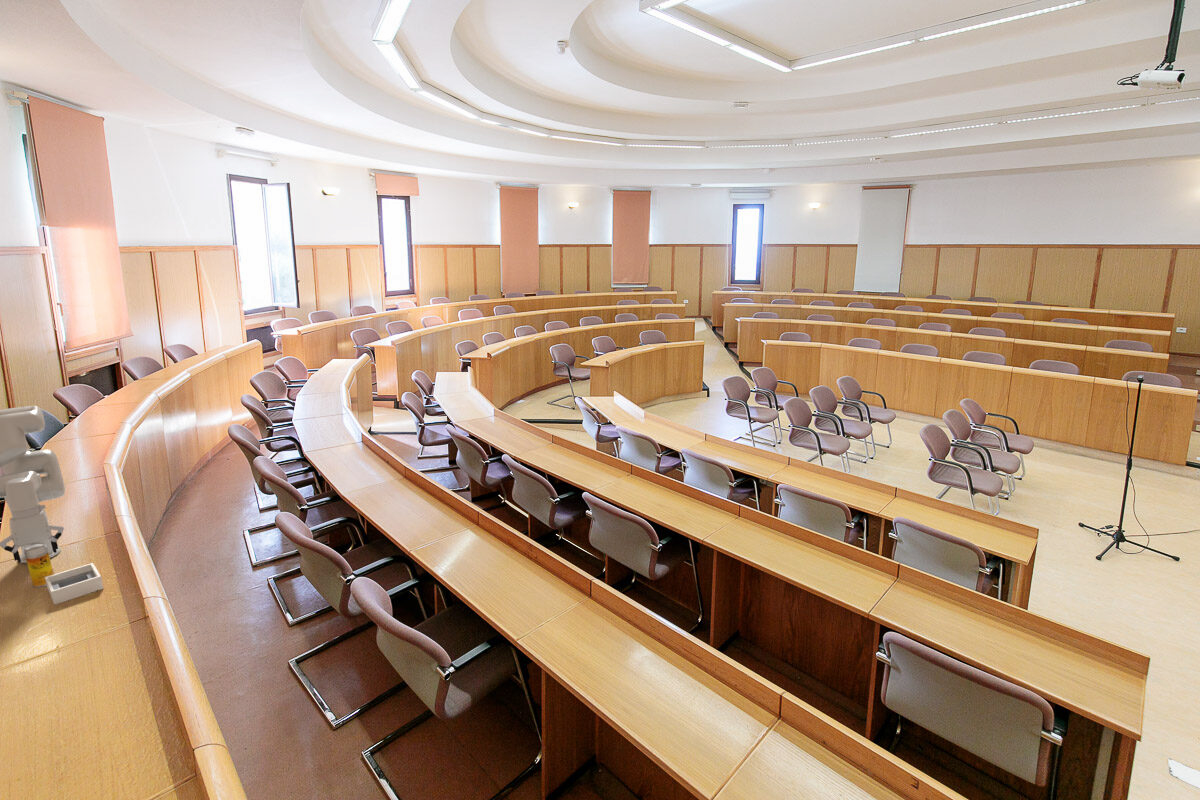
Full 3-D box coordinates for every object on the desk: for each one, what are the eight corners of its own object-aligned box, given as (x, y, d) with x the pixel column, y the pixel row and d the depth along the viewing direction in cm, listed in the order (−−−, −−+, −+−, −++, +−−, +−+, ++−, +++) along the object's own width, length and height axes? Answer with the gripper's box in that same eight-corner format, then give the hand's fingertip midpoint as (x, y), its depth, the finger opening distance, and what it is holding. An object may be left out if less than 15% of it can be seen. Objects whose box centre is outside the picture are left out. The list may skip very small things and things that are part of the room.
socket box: (47, 589, 222) (44, 577, 220) (95, 574, 231) (92, 562, 230) (54, 604, 213) (51, 591, 212) (103, 588, 223) (100, 576, 221)
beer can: (42, 588, 222) (32, 551, 218) (28, 586, 223) (18, 549, 219) (59, 579, 228) (50, 543, 224) (46, 578, 229) (37, 541, 225)
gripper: (56, 502, 226) (66, 544, 231) (-9, 517, 214) (3, 562, 218) (59, 507, 222) (70, 550, 226) (-7, 523, 209) (5, 569, 213)
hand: (37, 556), depth 222 cm, fingers open, 9 cm apart
